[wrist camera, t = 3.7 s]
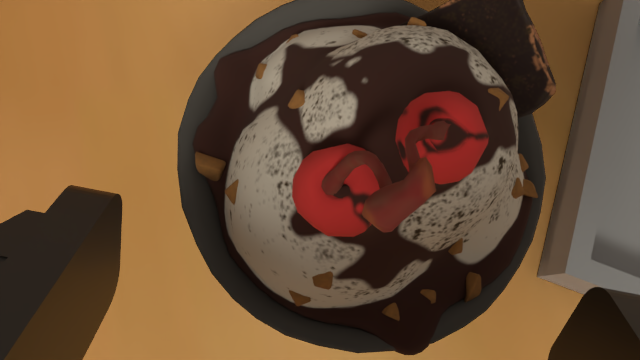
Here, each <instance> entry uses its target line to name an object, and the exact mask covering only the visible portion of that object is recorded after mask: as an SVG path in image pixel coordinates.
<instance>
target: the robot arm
mask: <svg viewBox="0 0 640 360" xmlns="http://www.w3.org/2000/svg"><path fill="white" fill-rule="evenodd" d="M121 224H122V199H121V196H120V195H119V194H115V193H110V192H105V191H99V190H94V189H89V188H84V187H78V186H73V185H71V186H68V187H67V188H66V189H65V190H64V191H63V192H62V193H61V195H60V196H59V197H58V198H57V199H56V200H55V202H54V203H53V204H52V205H51V206H50V208H49V209H48V210H47V211H46V212H45V213H41V212H36V211H30V210H26V211H24V212H22V213H20V214H18V215H16V216H14V217H12V218H10V219H9V220H7V221H5V222H3V223H1V224H0V360H82V359H83V357H84V356H85V354H86V352H87V350H88V348H89V346H90V344H91V342H92V340H93V338H94V336H95V334H96V332H97V330H98V328H99V326H100V324H101V322H102V320H103V318H104V316H105V314H106V312H107V310H108V309H109V306H110V304H111V302H112V299H113V296H114V293H115V290H116V286H117V282H118V277H119V271H120V250H121ZM548 360H640V295H638V294H633V293H628V292H623V291H617V290H612V289H607V288H602V287H593V288H591V289H589V290H588V291H587V292H586V293H585V294H584V296H583V297H582V299H581V300H580V302H579V304H578V305H577V307H576V308H575V310H574V312H573V313H572V315H571V317H570V318H569V320H568V321H567V323H566V325H565V326H564V328H563V329H562V331H561V333H560V334H559V336H558V337H557V339H556V341H555V342H554V344H553V346H552V348H551V350H550V353H549V357H548Z"/></svg>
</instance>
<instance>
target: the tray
mask: <svg viewBox="0 0 640 360" xmlns="http://www.w3.org/2000/svg"><path fill="white" fill-rule="evenodd" d="M537 277H539V278H542V279H544V280H547V281H550V282H552V283H555V284H558V285H560V286H563V287H566V288H568V289H571V290H573V291H576V292H579V293H581V294H585V293H586V292H587V291H588V290H589V289H591V288H593V287H602V288H607V289H612V290H617V291H623V292H628V293H633V294H638V295H640V0H603V1H602V2H601V3H600V4H599V9H598V13H597V17H596V22H595V26H594V30H593V35H592V39H591V44H590V48H589V52H588V57H587V61H586V65H585V70H584V74H583V79H582V83H581V87H580V92H579V96H578V100H577V105H576V109H575V113H574V118H573V122H572V127H571V131H570V135H569V140H568V144H567V148H566V153H565V157H564V161H563V166H562V170H561V175H560V179H559V183H558V188H557V192H556V196H555V201H554V205H553V209H552V214H551V218H550V223H549V227H548V231H547V236H546V240H545V244H544V249H543V253H542V258H541V262H540V266H539V271H538V275H537Z"/></svg>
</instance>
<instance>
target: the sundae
mask: <svg viewBox="0 0 640 360" xmlns="http://www.w3.org/2000/svg"><path fill="white" fill-rule="evenodd" d="M555 92H556V83H555V80H554V78H553V75H552V72H551V70H550V67H549V64H548V61H547V58H546V55H545V52H544V49H543V46H542V43H541V40H540V38H539V36H538V33H537V31H536V29H535V26H534V24H533V23H532V21H531V19H530V17H529V15H528V13H527V12H526V9H525V6H524V3H523V0H450V1H448V2H446V3H444V4H443V5H441V6H439V7H437V8H435V9H434V10H432V11H430V12H428V11H426V10H424V9H422V8H420V7H418V6H416V5H414V4H412V3H410V2H407V1H404V0H294V1H292V2H289V3H286V4H284V5H281V6H280V7H278V8H276V9H274V10H272V11H270V12H269V13H267V14H265V15H263V16H261V17H259V18H257V19H256V20H255V21H253V22H252V23H251V24H250V25H248V26H247V27H246V28H245V29H244V30H242V31H241V32H240V33H239V34H237V35H236V36H235V37H234V38H233V39H232V40H231V41H230V42H229V43H228V44H227V45H226V46H225V47H224V48H223V49H222V50H221V51H220V52H219V53H218V54H217V55H216V56H215V57H214V58H213V60H212V61H211V62H210V63H209V65H208V66H207V67H206V69H205V70H204V71H203V72H202V74H201V75H200V76H199V78H198V80H197V82H196V84H195V87H194V89H193V91H192V93H191V95H190V97H189V99H188V102H187V105H186V109H185V112H184V115H183V118H182V122H181V125H180V128H179V132H178V166H177V170H178V178H179V186H180V194H181V203H182V208H183V211H184V214H185V216H186V219H187V221H188V224H189V226H190V229H191V232H192V234H193V237H194V239H195V242H196V244H197V246H198V248H199V250H200V252H201V254H202V256H203V258H204V260H205V262H206V264H207V265H208V267H209V269H210V271H211V273H212V274H213V276H214V277H215V278H216V279H217V280H218V282H219V283H220V284H221V285H222V286H223V288H224V289H225V290H226V291H227V292H228V293H229V295H230V296H231V297H232V298H233V299H234V300H235V301H236V302H237V303H239V304H240V305H241V306H242V307H243V308H244V309H246V310H247V311H248V312H249V313H250V314H252V315H253V316H254V317H255V318H256V319H258V320H260V321H262V322H263V323H265V324H267V325H269V326H270V327H272V328H274V329H275V330H277V331H279V332H281V333H282V334H284V335H286V336H289V337H292V338H296V339H299V340H302V341H305V342H308V343H312V344H315V345H318V346H323V347H328V348H334V349H339V350H344V351H349V352H355V353H367V352H383V351H396V352H398V353H401V354H404V355H415V354H417V353H420V352H422V351H423V350H424V349H425V348H427V347H428V346H429V344H431V343H434V342H436V341H438V340H440V339H442V338H444V337H446V336H448V335H450V334H452V333H453V332H455V331H457V330H459V329H461V328H463V327H465V326H466V325H467V324H469V323H470V322H471V321H473V320H474V319H476V318H477V317H478V316H480V315H481V314H482V313H484V312H485V311H486V310H487V309H488V308H489V307H490V306H491V305H492V303H493V302H494V301H495V300H496V299H497V297H498V296H499V295H500V294H501V293H502V292H503V290H504V289H505V288H506V286H507V284H508V283H509V281H510V280H511V278H512V277H513V275H514V274H515V272H516V271H517V269H518V268H519V266H520V264H521V262H522V260H523V258H524V256H525V254H526V252H527V250H528V248H529V246H530V244H531V242H532V240H533V237H534V233H535V230H536V226H537V223H538V219H539V216H540V213H541V206H542V200H543V193H544V186H545V180H546V175H545V168H544V160H543V152H542V144H541V141H540V137H539V134H538V131H537V128H536V124H535V121H534V118H533V115H532V113H533V112H534V111H535V110H537V109H538V108H540V107H541V106H542V105H544V104H545V103H546V102H547V101H548V100H549V99H550V98H551V96H552V95H553V94H554V93H555Z"/></svg>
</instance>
